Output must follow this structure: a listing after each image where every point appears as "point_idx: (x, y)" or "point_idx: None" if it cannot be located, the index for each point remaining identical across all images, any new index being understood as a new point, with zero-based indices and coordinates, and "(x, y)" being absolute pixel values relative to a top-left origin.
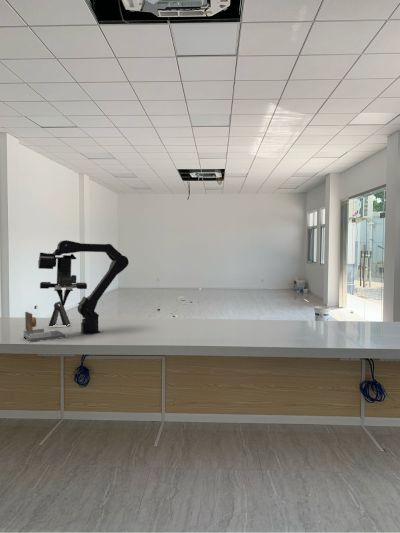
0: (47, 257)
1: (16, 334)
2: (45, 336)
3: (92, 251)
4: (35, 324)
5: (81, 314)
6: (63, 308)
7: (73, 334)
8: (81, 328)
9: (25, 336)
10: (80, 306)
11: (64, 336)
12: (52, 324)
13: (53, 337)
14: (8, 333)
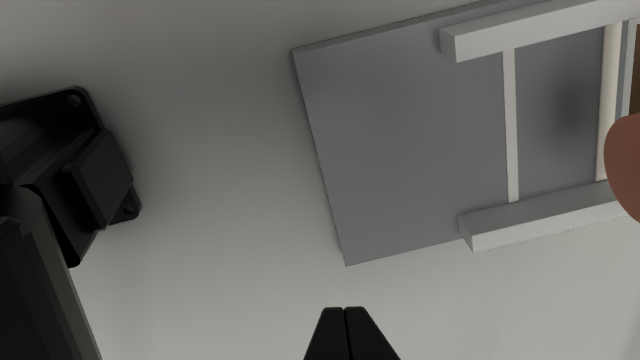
0: None
1: (604, 307)
2: (488, 18)
3: None
4: (638, 114)
5: (40, 197)
6: None
7: (211, 154)
8: (122, 187)
9: None
10: (2, 341)
11: (300, 49)
12: None
13: (407, 22)
14: (634, 350)
